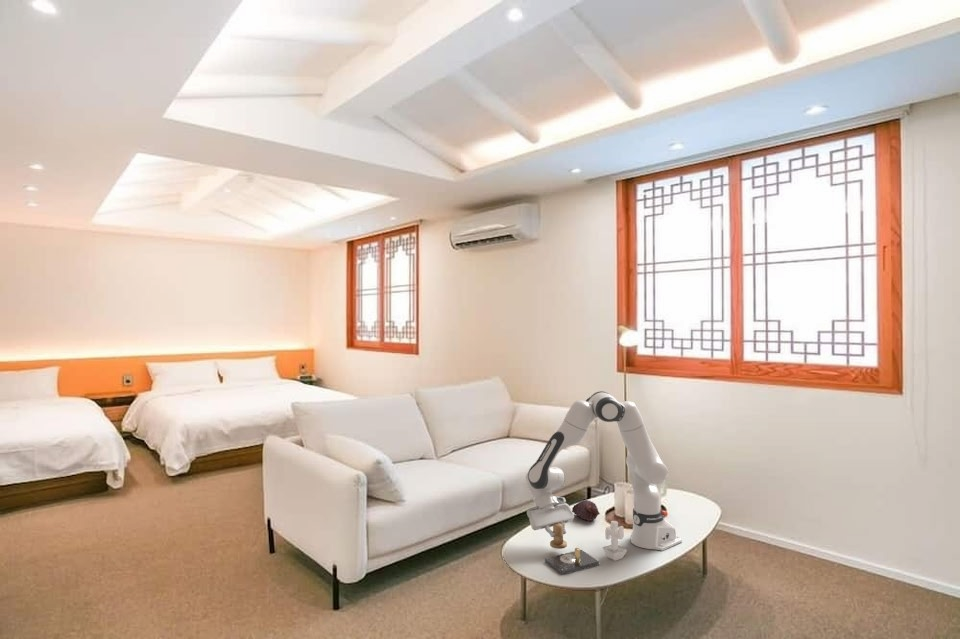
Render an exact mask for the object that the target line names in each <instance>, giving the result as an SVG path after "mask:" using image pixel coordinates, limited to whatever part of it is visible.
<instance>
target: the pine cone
mask: <svg viewBox="0 0 960 639" xmlns="http://www.w3.org/2000/svg"><path fill="white" fill-rule="evenodd" d="M571 510H572V512H573V514H574V515H576V517H578V518H580V519H582V520H583V519H584V520H585V521H587V522H590V521H593V520H596V519H597V518H598V515H601V513H600V512H599V508H598V506H597V505H596V503H595V502H593V501H591V500H588V499H586V500H585V499H583V500H581V501H578V503H576V504H574V505H573V507H572V508H571Z"/></svg>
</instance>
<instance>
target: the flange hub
mask: <svg viewBox="0 0 960 639" xmlns="http://www.w3.org/2000/svg"><path fill="white" fill-rule="evenodd" d="M552 531H554V532H555V537H552V538H553V539H552V540H551V541H550V542H549V546H550V547H551V548H553V549H556V550H562V549H566V547H567V546H568V543H567V541H566V540H565V539H564V534H563V525H562V524H559V523H556V524H553V526H552Z"/></svg>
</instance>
